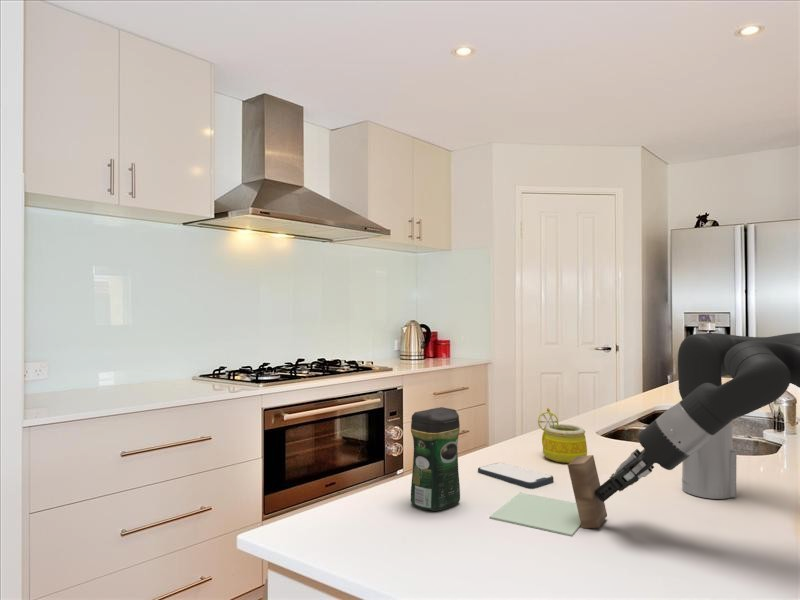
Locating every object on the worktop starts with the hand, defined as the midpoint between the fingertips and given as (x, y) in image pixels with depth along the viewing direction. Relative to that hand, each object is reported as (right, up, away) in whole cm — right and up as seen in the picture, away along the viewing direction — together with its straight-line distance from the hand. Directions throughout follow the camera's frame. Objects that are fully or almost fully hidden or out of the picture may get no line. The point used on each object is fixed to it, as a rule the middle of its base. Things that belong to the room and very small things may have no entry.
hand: (598, 496), depth 103 cm
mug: (+6, -6, +44) cm, 45 cm away
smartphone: (-9, -6, +28) cm, 30 cm away
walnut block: (0, -5, +1) cm, 5 cm away
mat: (-8, -5, +6) cm, 11 cm away
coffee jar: (-29, -5, +10) cm, 31 cm away
